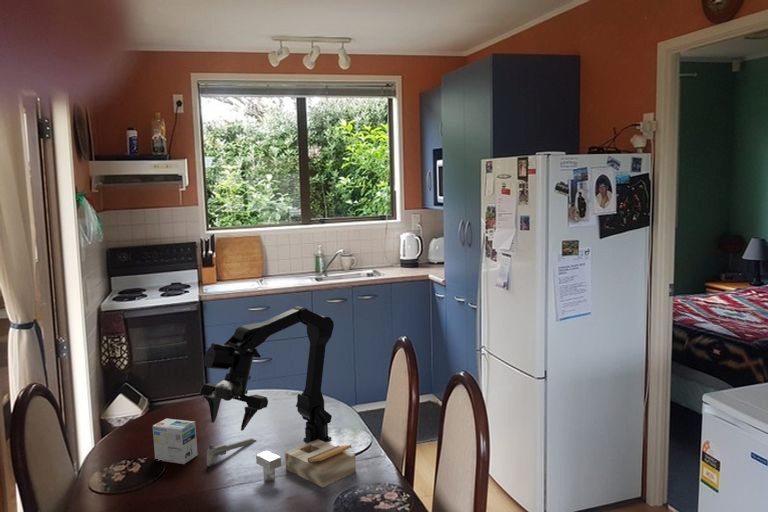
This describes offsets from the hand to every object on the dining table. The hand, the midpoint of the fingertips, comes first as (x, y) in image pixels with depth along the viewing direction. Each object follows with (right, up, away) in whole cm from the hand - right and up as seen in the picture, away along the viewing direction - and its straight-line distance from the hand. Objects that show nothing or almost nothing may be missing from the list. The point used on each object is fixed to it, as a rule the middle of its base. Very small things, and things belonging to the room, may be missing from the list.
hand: (227, 426), depth 176 cm
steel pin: (+13, -13, -5) cm, 19 cm away
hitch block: (+26, -12, 0) cm, 29 cm away
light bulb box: (-18, -13, +11) cm, 24 cm away
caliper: (-2, -12, +13) cm, 18 cm away
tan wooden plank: (+29, -7, -4) cm, 30 cm away
